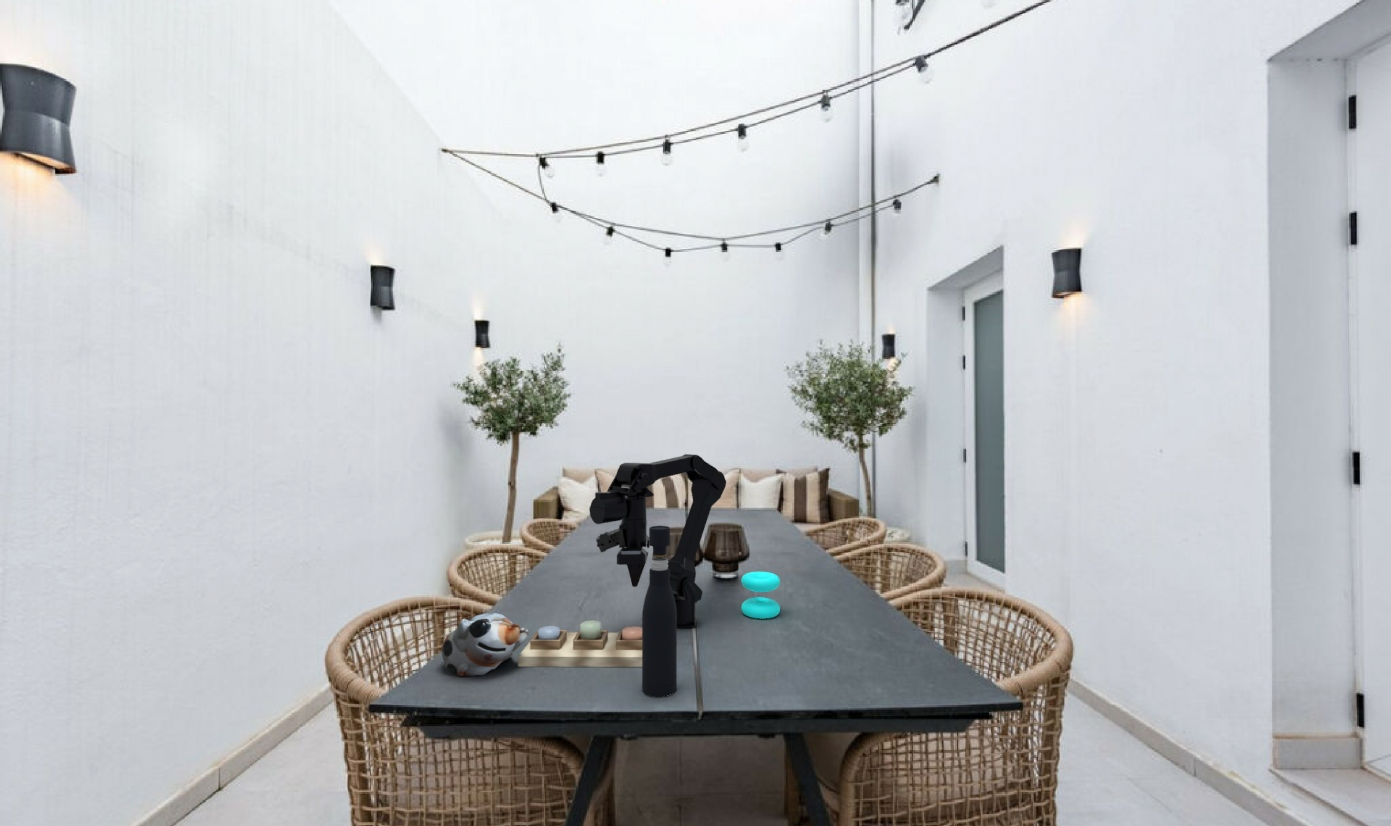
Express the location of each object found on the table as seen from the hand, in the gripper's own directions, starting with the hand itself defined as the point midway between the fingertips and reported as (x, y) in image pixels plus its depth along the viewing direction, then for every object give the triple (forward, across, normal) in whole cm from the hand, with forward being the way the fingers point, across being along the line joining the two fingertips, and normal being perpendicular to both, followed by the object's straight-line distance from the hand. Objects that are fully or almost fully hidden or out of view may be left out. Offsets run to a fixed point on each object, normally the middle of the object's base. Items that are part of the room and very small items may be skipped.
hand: (634, 586), depth 137 cm
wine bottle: (+12, +26, +6) cm, 29 cm away
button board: (+12, +8, -9) cm, 17 cm away
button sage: (+8, +8, -9) cm, 15 cm away
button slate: (+9, +8, -18) cm, 22 cm away
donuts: (+13, -17, +31) cm, 38 cm away
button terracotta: (+9, +8, 0) cm, 13 cm away
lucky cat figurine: (+12, +14, -29) cm, 35 cm away
